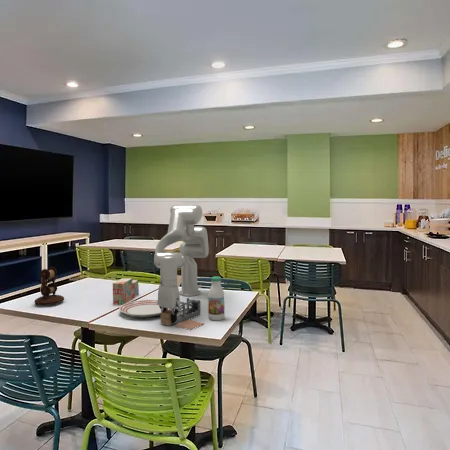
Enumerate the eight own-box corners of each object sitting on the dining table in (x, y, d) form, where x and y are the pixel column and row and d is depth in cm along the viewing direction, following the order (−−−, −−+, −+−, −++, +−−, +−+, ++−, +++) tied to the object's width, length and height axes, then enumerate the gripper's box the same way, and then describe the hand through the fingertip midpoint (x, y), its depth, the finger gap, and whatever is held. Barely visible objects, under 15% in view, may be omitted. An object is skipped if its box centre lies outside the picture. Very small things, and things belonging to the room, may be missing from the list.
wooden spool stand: (44, 299, 206) (42, 265, 205) (69, 300, 206) (67, 265, 204) (28, 307, 192) (27, 270, 190) (55, 307, 191) (54, 270, 189)
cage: (188, 312, 182) (188, 297, 181) (200, 315, 177) (200, 300, 177) (171, 318, 172) (171, 303, 171) (184, 321, 167) (183, 306, 167)
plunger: (192, 311, 183) (192, 299, 182) (200, 312, 180) (200, 301, 179) (168, 320, 168) (168, 308, 168) (176, 322, 165) (176, 310, 165)
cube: (168, 320, 168) (168, 309, 168) (176, 322, 165) (176, 311, 165) (160, 323, 164) (160, 312, 164) (168, 325, 161) (168, 314, 161)
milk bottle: (208, 315, 176) (207, 275, 175) (223, 315, 177) (223, 275, 175) (208, 321, 168) (208, 279, 167) (225, 320, 169) (224, 278, 168)
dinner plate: (140, 302, 201) (140, 296, 201) (183, 307, 191) (183, 301, 191) (107, 317, 175) (107, 310, 175) (155, 324, 165) (155, 317, 165)
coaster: (188, 320, 169) (188, 319, 169) (203, 324, 164) (203, 323, 164) (175, 326, 162) (175, 324, 162) (190, 330, 157) (190, 328, 157)
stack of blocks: (129, 294, 217) (128, 274, 216) (138, 295, 216) (138, 274, 215) (112, 305, 196) (112, 282, 195) (123, 305, 195) (123, 283, 194)
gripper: (149, 281, 166) (150, 319, 167) (177, 286, 156) (177, 327, 157) (161, 278, 172) (162, 315, 173) (188, 283, 162) (189, 322, 164)
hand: (169, 320), depth 165 cm, fingers closed on cube, 5 cm apart
